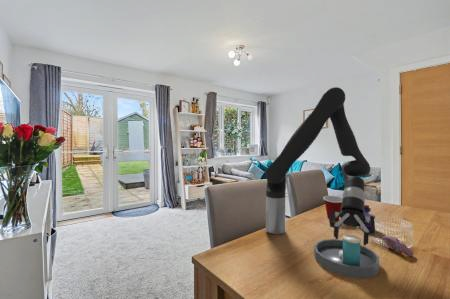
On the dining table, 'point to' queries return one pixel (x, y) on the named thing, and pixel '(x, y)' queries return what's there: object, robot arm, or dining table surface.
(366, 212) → the potion bottle
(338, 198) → the plastic cup
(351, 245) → the bead jar
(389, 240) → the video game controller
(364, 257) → the groove tray
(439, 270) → the dining table surface
